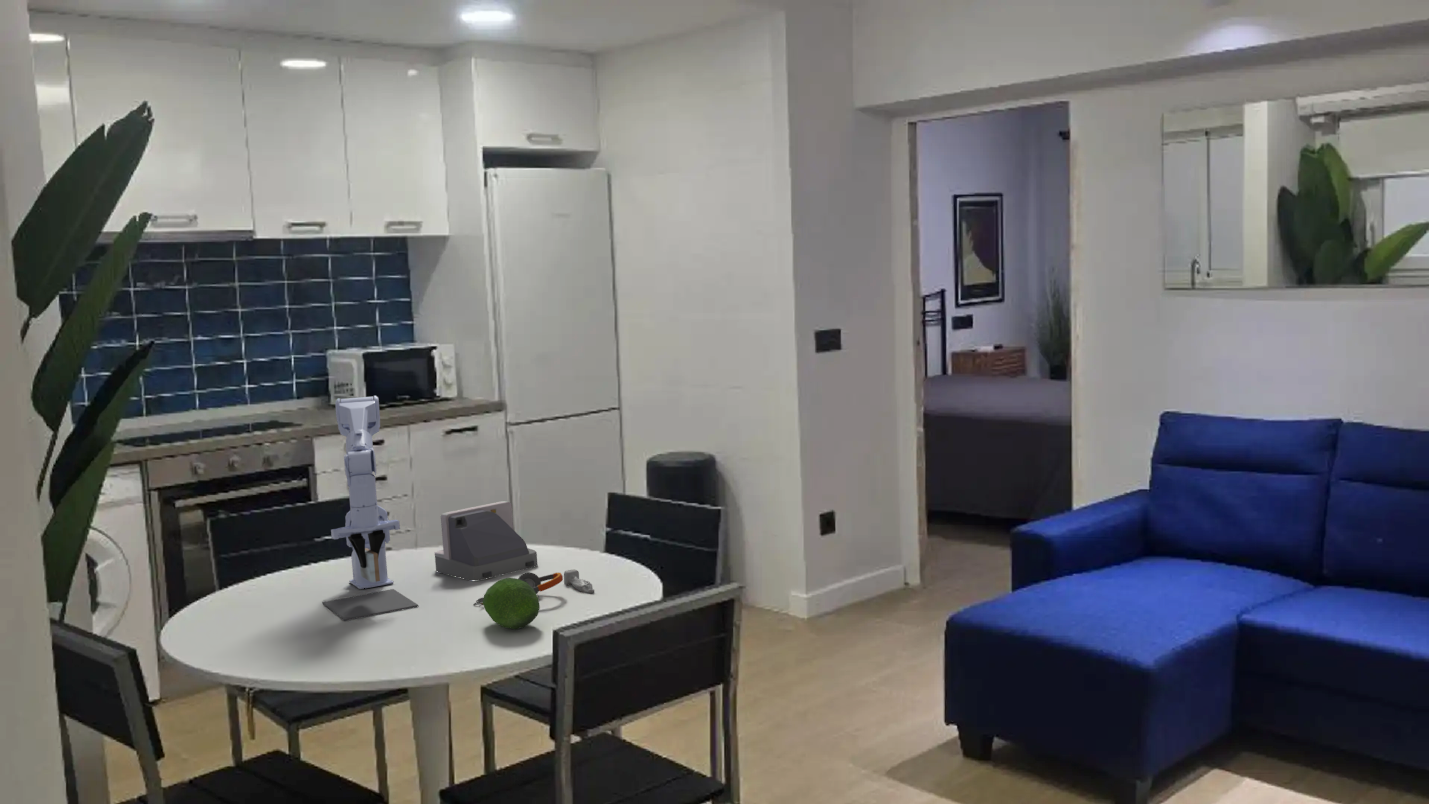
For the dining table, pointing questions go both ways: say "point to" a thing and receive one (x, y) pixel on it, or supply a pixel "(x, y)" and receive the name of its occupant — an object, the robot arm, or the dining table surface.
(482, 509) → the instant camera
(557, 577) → the headphones
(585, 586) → the figurine
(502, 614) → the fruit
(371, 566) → the tile
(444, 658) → the dining table surface
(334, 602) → the mat
